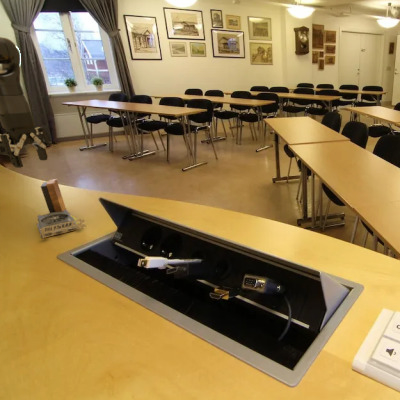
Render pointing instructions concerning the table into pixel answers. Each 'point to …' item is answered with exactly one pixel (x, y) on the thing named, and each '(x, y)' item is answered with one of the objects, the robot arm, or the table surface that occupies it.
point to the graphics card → (58, 223)
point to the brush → (53, 196)
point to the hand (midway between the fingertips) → (31, 163)
